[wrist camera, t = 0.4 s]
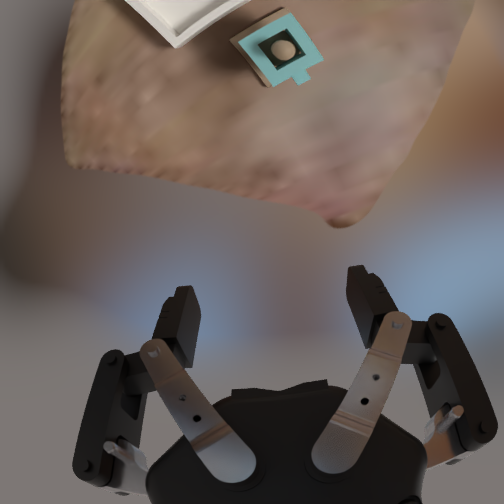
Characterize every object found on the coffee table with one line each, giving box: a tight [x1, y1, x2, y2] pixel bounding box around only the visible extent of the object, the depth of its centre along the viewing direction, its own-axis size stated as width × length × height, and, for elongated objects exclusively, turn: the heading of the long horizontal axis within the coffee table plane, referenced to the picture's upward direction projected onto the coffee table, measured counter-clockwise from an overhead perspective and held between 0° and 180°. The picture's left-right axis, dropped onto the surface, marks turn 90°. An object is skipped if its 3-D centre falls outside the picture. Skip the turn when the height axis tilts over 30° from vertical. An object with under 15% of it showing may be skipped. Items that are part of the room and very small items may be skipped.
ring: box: [238, 13, 324, 87], centre depth 22 cm, size 7×6×3 cm
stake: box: [229, 7, 301, 88], centre depth 22 cm, size 8×8×9 cm
